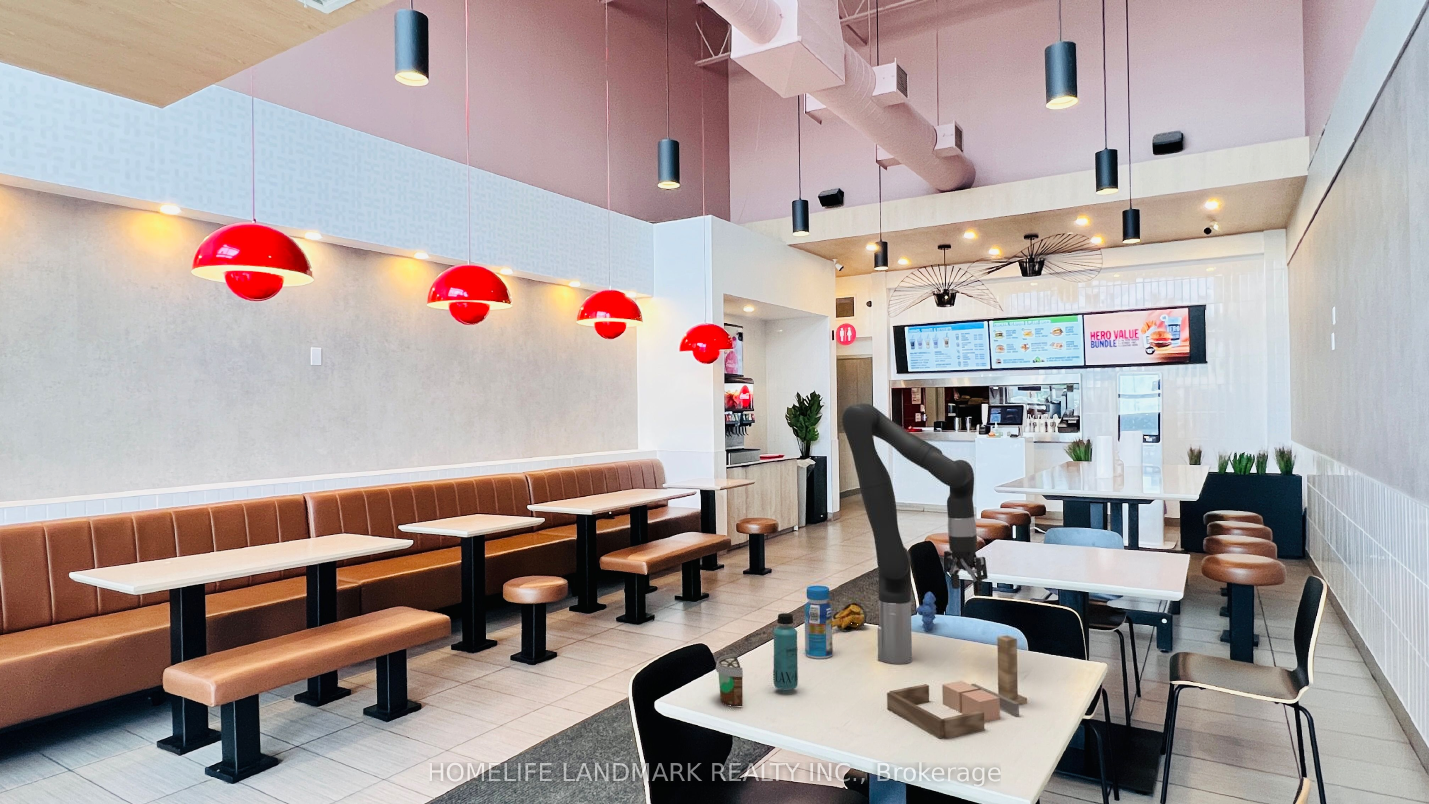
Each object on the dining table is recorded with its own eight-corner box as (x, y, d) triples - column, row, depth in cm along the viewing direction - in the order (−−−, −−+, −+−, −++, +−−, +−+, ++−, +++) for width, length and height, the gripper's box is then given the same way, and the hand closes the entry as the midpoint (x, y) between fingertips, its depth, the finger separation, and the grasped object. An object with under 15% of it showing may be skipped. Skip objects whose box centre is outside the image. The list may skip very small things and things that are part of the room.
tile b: (961, 700, 198) (961, 680, 198) (978, 708, 193) (978, 688, 193) (942, 704, 196) (942, 684, 196) (959, 713, 190) (959, 692, 190)
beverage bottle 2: (799, 653, 238) (798, 586, 238) (823, 649, 241) (822, 583, 242) (814, 661, 230) (813, 592, 230) (838, 656, 234) (837, 588, 234)
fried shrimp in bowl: (877, 613, 264) (853, 606, 251) (861, 642, 264) (836, 637, 251) (856, 599, 270) (831, 591, 257) (840, 627, 270) (815, 621, 257)
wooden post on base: (998, 690, 205) (997, 628, 205) (1044, 710, 191) (1042, 643, 191) (970, 696, 201) (969, 632, 201) (1015, 716, 187) (1014, 648, 187)
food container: (714, 692, 206) (713, 653, 206) (737, 691, 207) (737, 652, 207) (718, 710, 194) (717, 669, 194) (743, 709, 194) (742, 668, 194)
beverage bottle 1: (768, 691, 206) (767, 614, 206) (784, 684, 211) (782, 609, 211) (788, 697, 202) (787, 618, 202) (803, 690, 206) (802, 613, 207)
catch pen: (926, 700, 199) (925, 684, 199) (984, 729, 180) (984, 712, 180) (885, 708, 194) (885, 691, 194) (941, 739, 175) (941, 721, 175)
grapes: (919, 623, 268) (918, 587, 268) (939, 625, 265) (939, 589, 266) (912, 632, 258) (912, 595, 258) (933, 634, 255) (933, 597, 255)
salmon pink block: (981, 710, 192) (981, 689, 192) (999, 719, 187) (999, 697, 187) (962, 714, 190) (961, 693, 190) (980, 723, 184) (979, 701, 184)
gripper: (934, 531, 224) (938, 589, 224) (970, 538, 211) (974, 599, 211) (955, 528, 227) (959, 584, 227) (991, 534, 214) (996, 594, 214)
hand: (966, 591), depth 219 cm, fingers open, 8 cm apart
